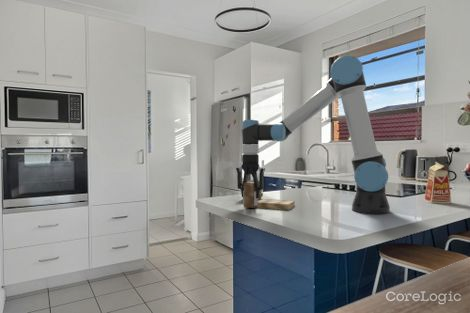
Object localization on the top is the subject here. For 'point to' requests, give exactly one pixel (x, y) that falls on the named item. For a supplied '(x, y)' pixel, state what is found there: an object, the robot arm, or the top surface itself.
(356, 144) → the robot arm
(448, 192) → the milk carton
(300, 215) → the top surface
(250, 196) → the block
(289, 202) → the oak board
